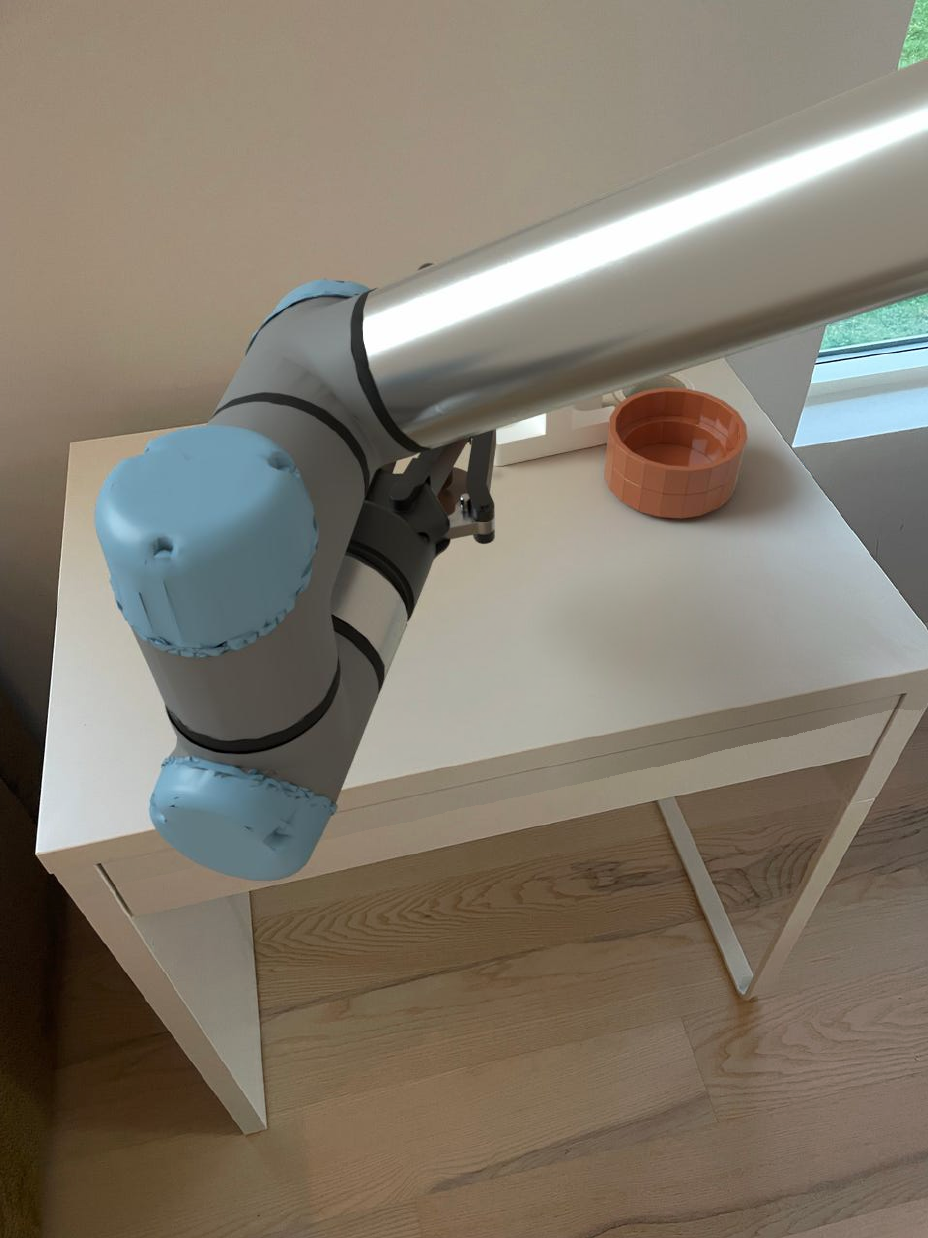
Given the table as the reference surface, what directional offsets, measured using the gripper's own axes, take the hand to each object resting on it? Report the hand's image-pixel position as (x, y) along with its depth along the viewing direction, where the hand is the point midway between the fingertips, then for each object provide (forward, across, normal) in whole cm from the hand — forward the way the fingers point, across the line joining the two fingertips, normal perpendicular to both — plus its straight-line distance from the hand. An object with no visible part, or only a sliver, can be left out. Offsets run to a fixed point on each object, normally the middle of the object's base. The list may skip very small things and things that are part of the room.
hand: (459, 352), depth 66 cm
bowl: (+16, +15, -22) cm, 31 cm away
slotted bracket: (+21, +2, -22) cm, 30 cm away
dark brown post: (-6, 0, -10) cm, 11 cm away
